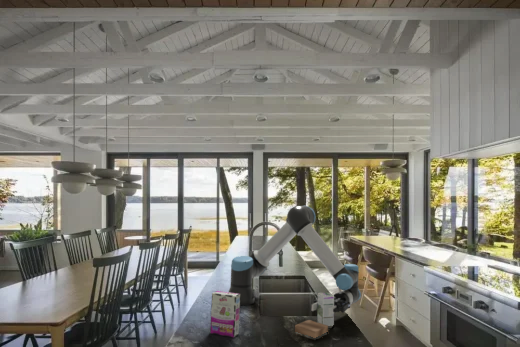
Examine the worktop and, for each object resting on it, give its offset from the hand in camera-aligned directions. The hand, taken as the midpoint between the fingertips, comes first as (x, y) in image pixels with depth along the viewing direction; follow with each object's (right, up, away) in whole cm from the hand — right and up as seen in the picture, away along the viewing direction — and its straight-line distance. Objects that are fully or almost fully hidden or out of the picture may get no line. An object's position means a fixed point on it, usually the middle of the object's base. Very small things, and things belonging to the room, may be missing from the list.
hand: (320, 309), depth 160 cm
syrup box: (+3, -9, +3) cm, 10 cm away
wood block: (-5, -8, -6) cm, 12 cm away
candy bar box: (-41, -6, -10) cm, 43 cm away
